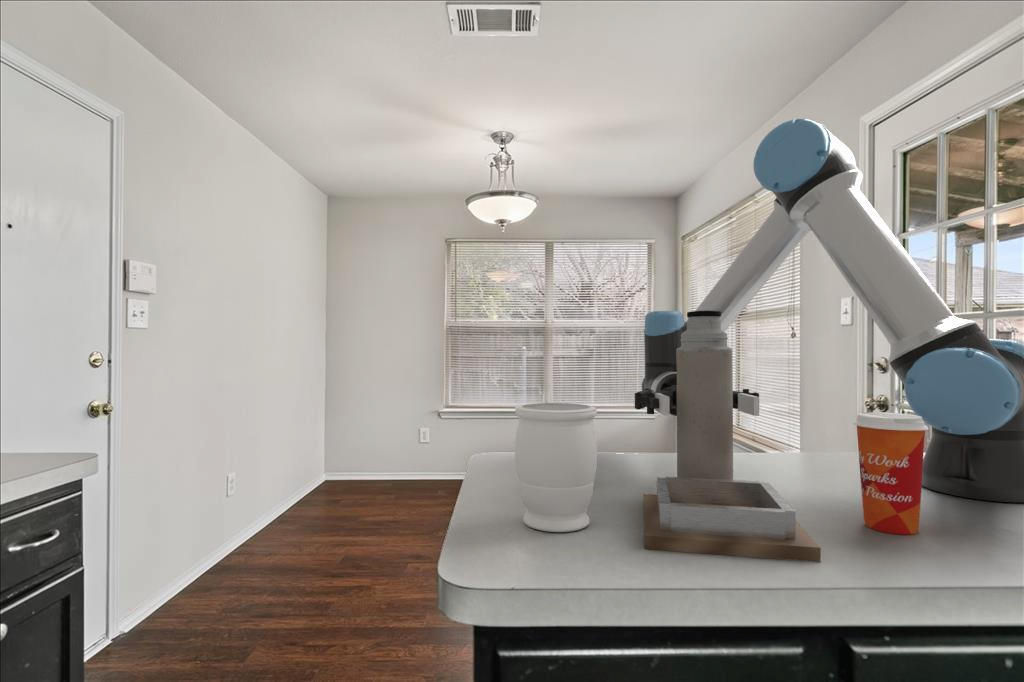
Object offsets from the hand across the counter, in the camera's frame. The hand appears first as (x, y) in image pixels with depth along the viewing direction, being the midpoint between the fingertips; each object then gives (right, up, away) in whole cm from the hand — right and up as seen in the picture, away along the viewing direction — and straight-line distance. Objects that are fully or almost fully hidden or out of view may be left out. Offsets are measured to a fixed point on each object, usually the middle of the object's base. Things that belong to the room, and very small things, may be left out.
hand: (711, 406), depth 81 cm
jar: (-23, -14, -9) cm, 28 cm away
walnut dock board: (-3, -14, -11) cm, 18 cm away
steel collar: (-3, -12, -11) cm, 17 cm away
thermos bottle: (0, -14, +3) cm, 15 cm away
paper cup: (+18, -14, -11) cm, 26 cm away
